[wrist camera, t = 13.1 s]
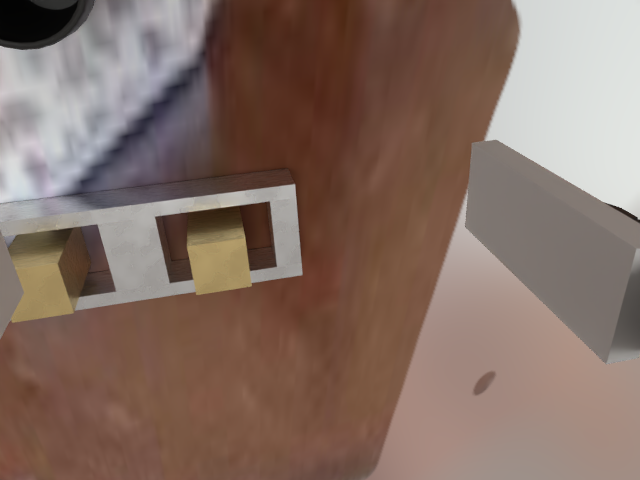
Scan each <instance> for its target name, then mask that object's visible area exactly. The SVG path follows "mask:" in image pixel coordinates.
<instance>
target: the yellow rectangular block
mask: <svg viewBox="0 0 640 480" xmlns="http://www.w3.org/2000/svg"><path fill="white" fill-rule="evenodd" d="M187 249H188V254H189V259H190V265H191V270H192V275H193V280H194V285H195V290H196V295H200V294H206V293H213V292H219V291H225V290H232V289H238V288H244V287H251V286H252V284H251V276H250V269H249V262H248V254H247V247H246V240H245V234H244V229H243V223H242V218H241V212H240V207H239V205H238V206H231V207H223V208H216V209H208V210H201V211H193V212H188V227H187Z"/></svg>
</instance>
